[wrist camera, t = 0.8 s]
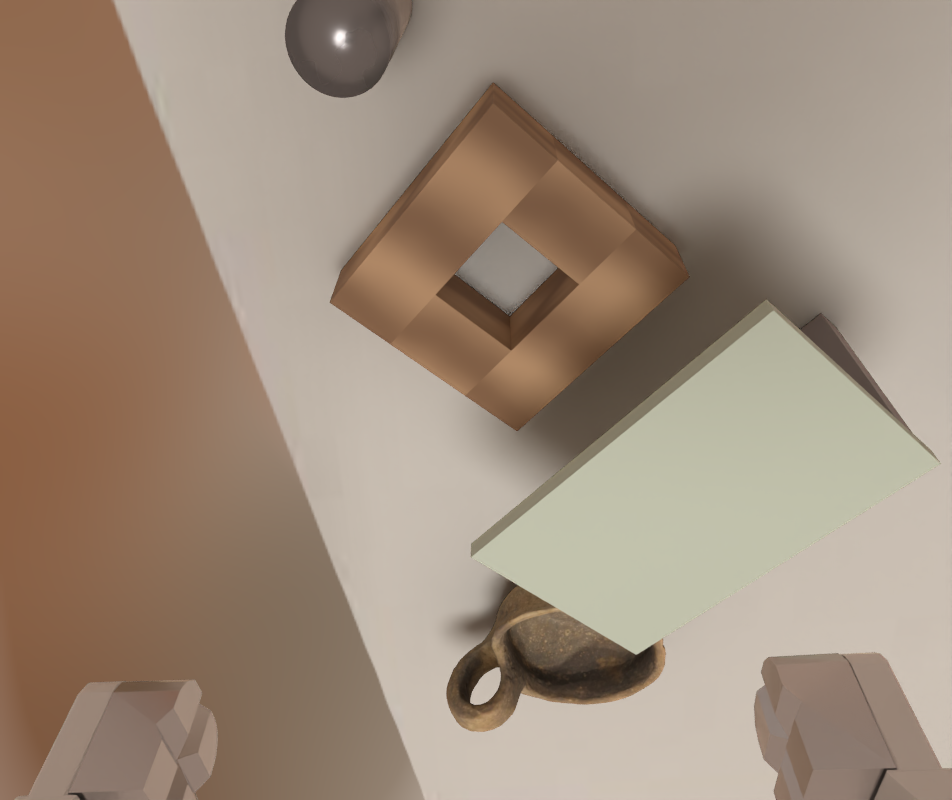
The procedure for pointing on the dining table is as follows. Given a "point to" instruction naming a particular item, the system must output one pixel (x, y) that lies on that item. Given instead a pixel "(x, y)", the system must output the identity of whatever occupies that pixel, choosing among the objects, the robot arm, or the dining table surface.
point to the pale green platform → (710, 482)
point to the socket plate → (541, 225)
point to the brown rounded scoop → (546, 663)
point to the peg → (344, 42)
